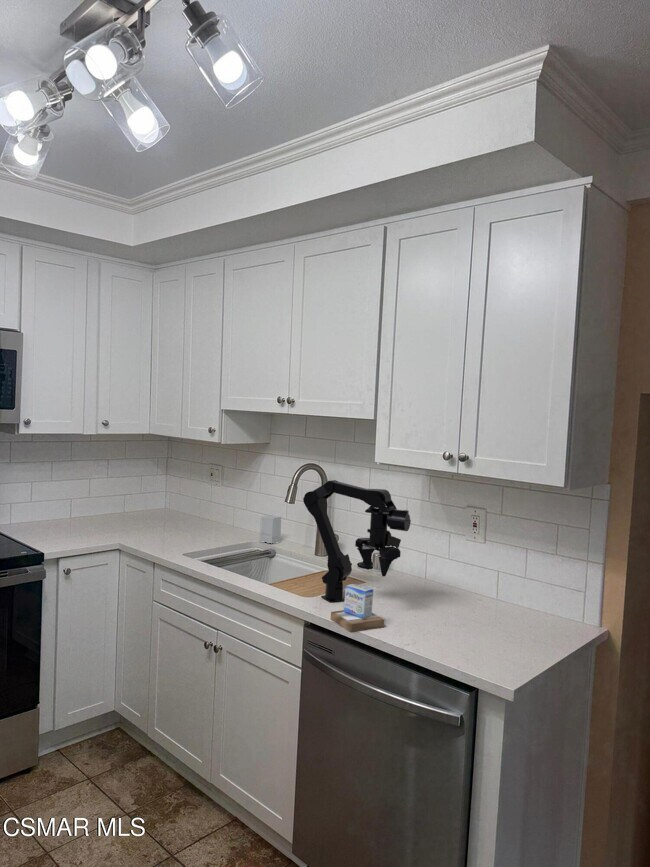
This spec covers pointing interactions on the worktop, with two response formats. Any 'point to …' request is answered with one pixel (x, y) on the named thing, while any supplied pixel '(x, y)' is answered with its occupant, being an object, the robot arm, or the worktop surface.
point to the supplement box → (270, 529)
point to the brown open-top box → (356, 621)
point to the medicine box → (358, 601)
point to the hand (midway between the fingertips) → (375, 572)
